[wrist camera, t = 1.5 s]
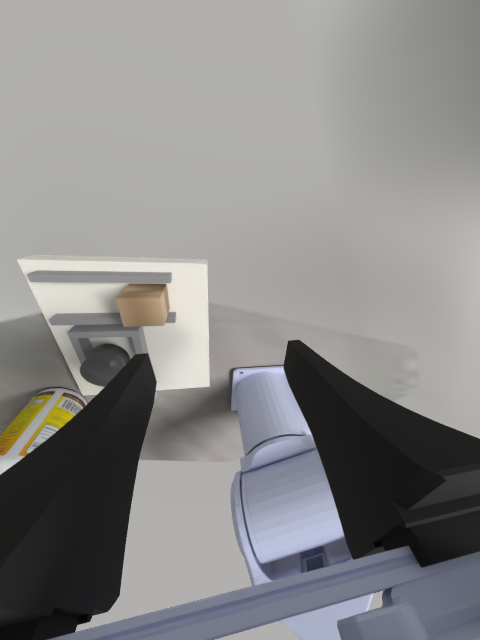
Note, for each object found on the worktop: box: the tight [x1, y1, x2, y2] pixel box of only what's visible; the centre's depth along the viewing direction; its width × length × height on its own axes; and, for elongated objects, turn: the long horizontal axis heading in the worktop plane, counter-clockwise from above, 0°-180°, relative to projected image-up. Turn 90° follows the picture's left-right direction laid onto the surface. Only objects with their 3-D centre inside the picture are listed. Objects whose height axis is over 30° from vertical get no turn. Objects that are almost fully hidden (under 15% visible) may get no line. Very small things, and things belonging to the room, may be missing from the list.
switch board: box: [17, 255, 210, 396], centre depth 20 cm, size 14×15×3 cm
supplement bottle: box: [0, 388, 87, 475], centre depth 20 cm, size 6×6×10 cm
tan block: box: [116, 284, 170, 327], centre depth 16 cm, size 3×2×3 cm
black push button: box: [80, 344, 130, 386], centre depth 18 cm, size 3×3×2 cm
